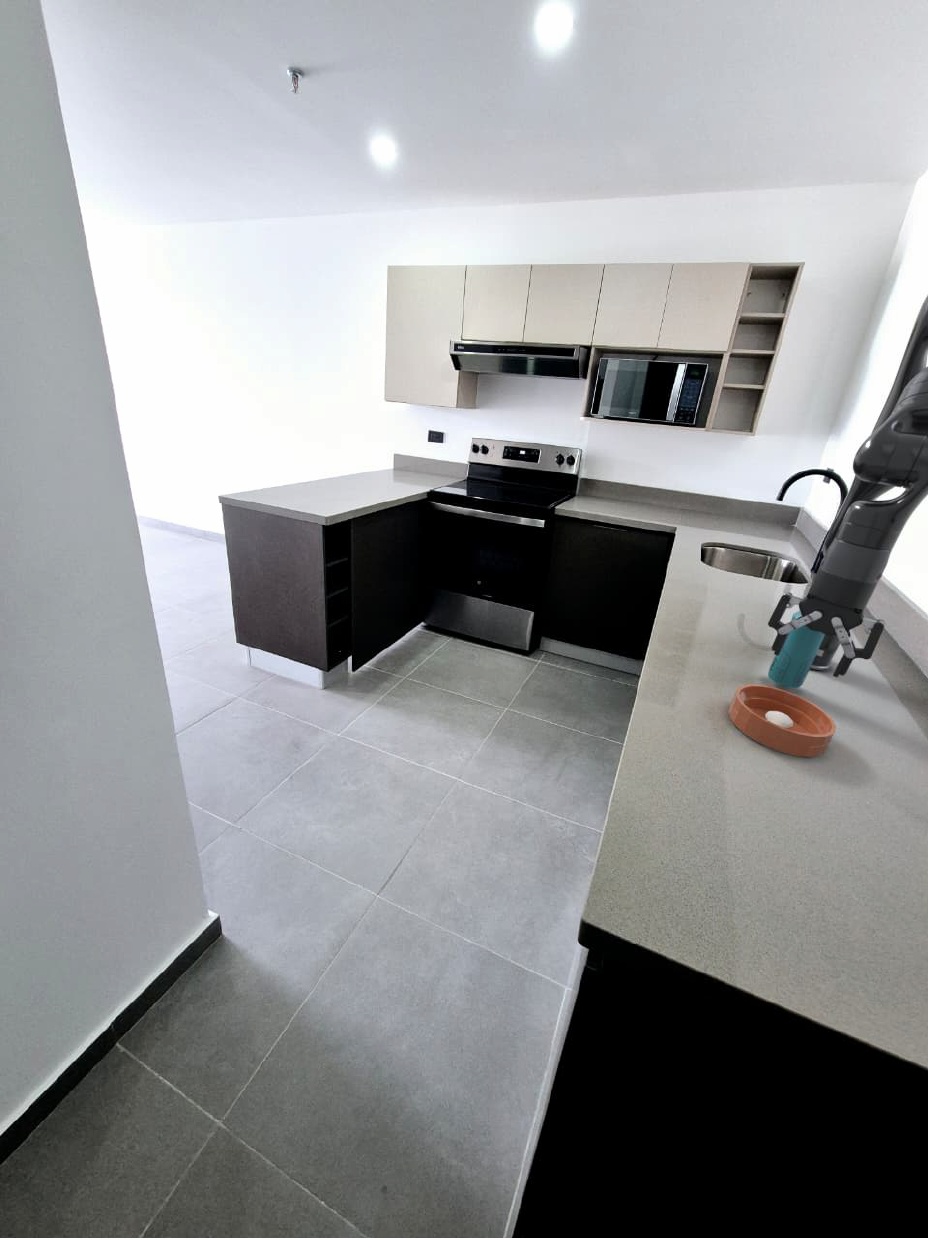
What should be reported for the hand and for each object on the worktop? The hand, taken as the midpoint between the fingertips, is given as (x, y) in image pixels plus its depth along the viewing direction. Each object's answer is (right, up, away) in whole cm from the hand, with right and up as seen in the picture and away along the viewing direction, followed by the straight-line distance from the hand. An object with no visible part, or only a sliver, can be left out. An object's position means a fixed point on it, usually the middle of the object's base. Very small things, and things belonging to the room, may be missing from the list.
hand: (805, 664), depth 80 cm
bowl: (-2, -12, +6) cm, 13 cm away
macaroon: (-2, -12, +6) cm, 13 cm away
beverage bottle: (+10, -7, +21) cm, 24 cm away
